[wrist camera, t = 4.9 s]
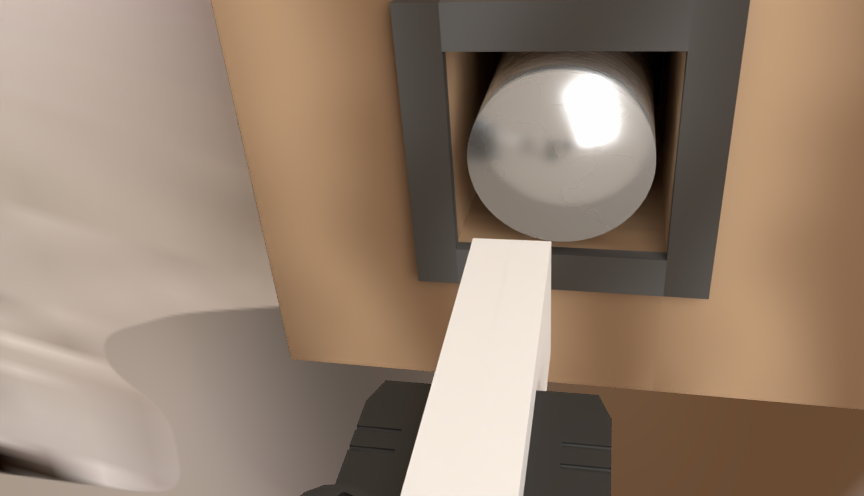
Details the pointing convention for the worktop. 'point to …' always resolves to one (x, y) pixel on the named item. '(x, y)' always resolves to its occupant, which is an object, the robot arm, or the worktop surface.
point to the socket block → (577, 260)
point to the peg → (565, 141)
